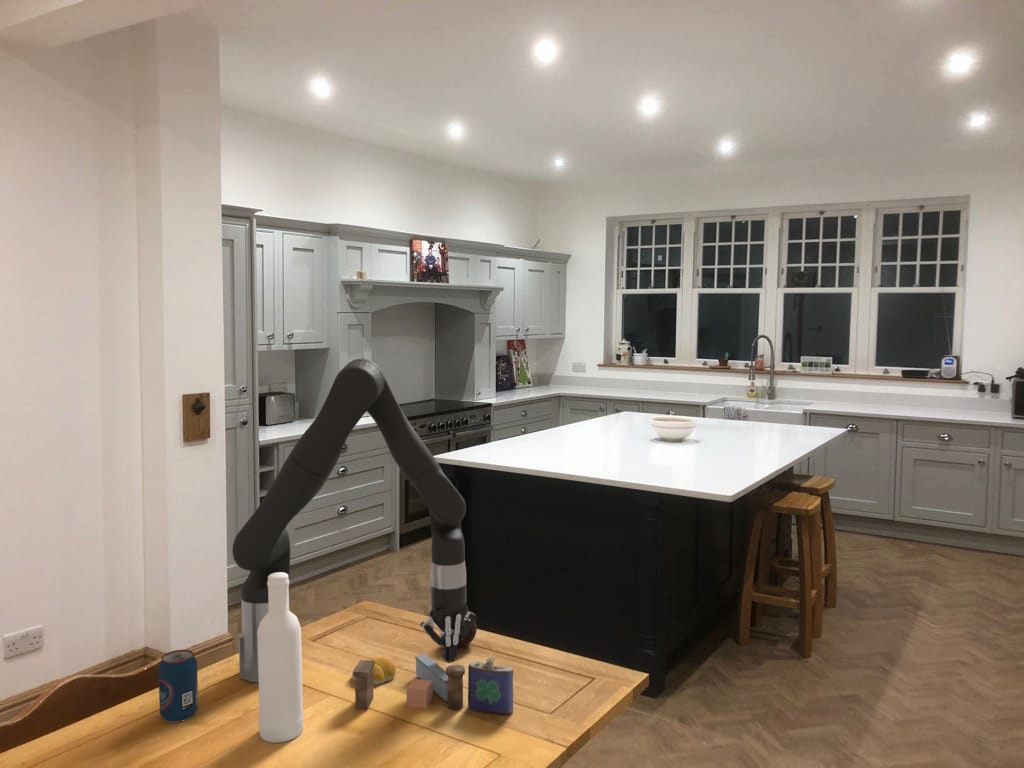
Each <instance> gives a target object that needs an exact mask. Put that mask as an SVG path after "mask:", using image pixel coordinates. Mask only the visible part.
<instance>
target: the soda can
mask: <svg viewBox="0 0 1024 768" xmlns="http://www.w3.org/2000/svg"><path fill="white" fill-rule="evenodd" d="M198 681H199V679H198V661H197V658H196V657H195V655H194V652H193V650H190V649H176V650H172V651H169V652H166V653H164V654H163V655H162V656H161V661H160V662H159V664H158V694H159V695H158V696H159V697H158V698H159V699H158V700H159V714H160V716H161V717H162V719H163V720H164V721H165V720H166V722H167V721H168V722H167V723H173V722H174V723H180V722H179V721H182V722H184V721H183V720H185V721H187V720H186V719H188V720H189V718H190V719H192V718H193V717H194V716H195V714H196V713H197V710H198V708H199V688H198V687H199V685H198ZM193 715H194V716H193ZM192 716H193V717H192Z"/></svg>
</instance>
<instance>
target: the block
mask: <svg viewBox="0 0 1024 768" xmlns="http://www.w3.org/2000/svg"><path fill="white" fill-rule="evenodd" d="M432 701H433V690H432V681H431V680H422V679H420V678H413V679H412V680H411V681H410V683H408V685H407V686H406V707H409V708H417V707H418V708H419V709H425V708H426V707H429V705H430V704H431V702H432ZM418 708H417V709H418ZM426 709H427V708H426Z"/></svg>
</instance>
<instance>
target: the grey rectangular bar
mask: <svg viewBox="0 0 1024 768" xmlns="http://www.w3.org/2000/svg"><path fill="white" fill-rule="evenodd" d="M414 658H415V675H416V676H417V677H418V679H422V680H431V681H432V691H434V692H435V693H436V695H438V696H439V697H440V698H441V699H443V700H444V702H448V675H446V669H444V668H443V667H442V666H440V665H439V664H438V663H437V662H435V661H434V660H433V659H432V658H430V657H429V656H428V655H427V654H426V653H421V654H418V655H415V657H414Z"/></svg>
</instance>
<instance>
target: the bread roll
mask: <svg viewBox="0 0 1024 768" xmlns="http://www.w3.org/2000/svg"><path fill="white" fill-rule="evenodd" d="M370 660H375V665H374V667H373V687H374V686H378V685H381V684H383V683H385V682H389V681H392V680H393V679H394V678H395V677H396V673H397V669H396V666H395V664H394V662H393V661H391V660H390V659H389V658H387V657H376V658H372V659H370ZM357 665H358V664H356V665H355V667H354V668H353V670H352V672H353V671H354V670H355V668H356V666H357ZM351 675H352V679H353V681H354V682H355V676H353V673H352V674H351Z"/></svg>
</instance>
